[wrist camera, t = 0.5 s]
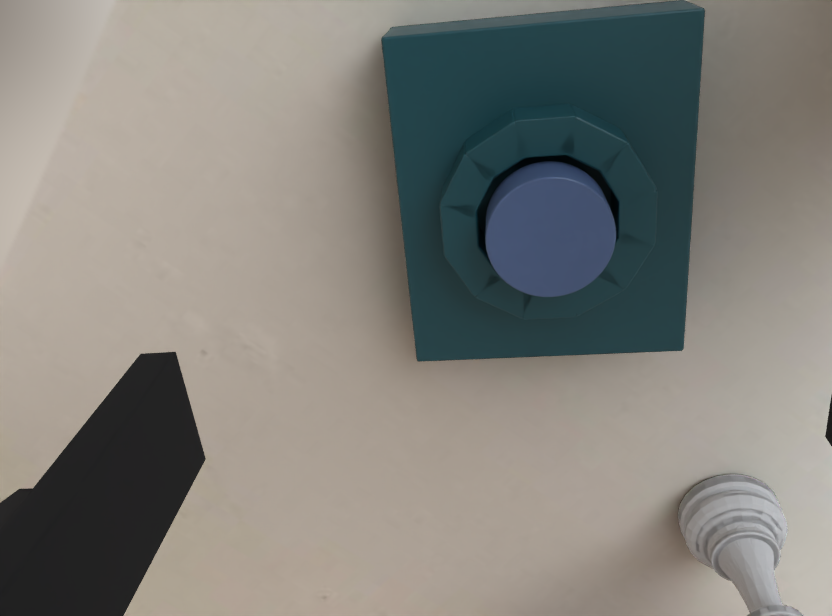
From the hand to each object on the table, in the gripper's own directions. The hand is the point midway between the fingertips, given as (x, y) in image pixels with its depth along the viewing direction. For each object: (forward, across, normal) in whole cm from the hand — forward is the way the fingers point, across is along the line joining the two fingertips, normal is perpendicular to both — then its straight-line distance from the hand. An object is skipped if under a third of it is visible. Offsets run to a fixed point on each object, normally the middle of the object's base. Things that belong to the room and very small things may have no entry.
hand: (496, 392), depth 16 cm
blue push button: (+11, +2, 0) cm, 11 cm away
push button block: (+15, +2, 0) cm, 15 cm away
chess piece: (+15, +10, -17) cm, 24 cm away
